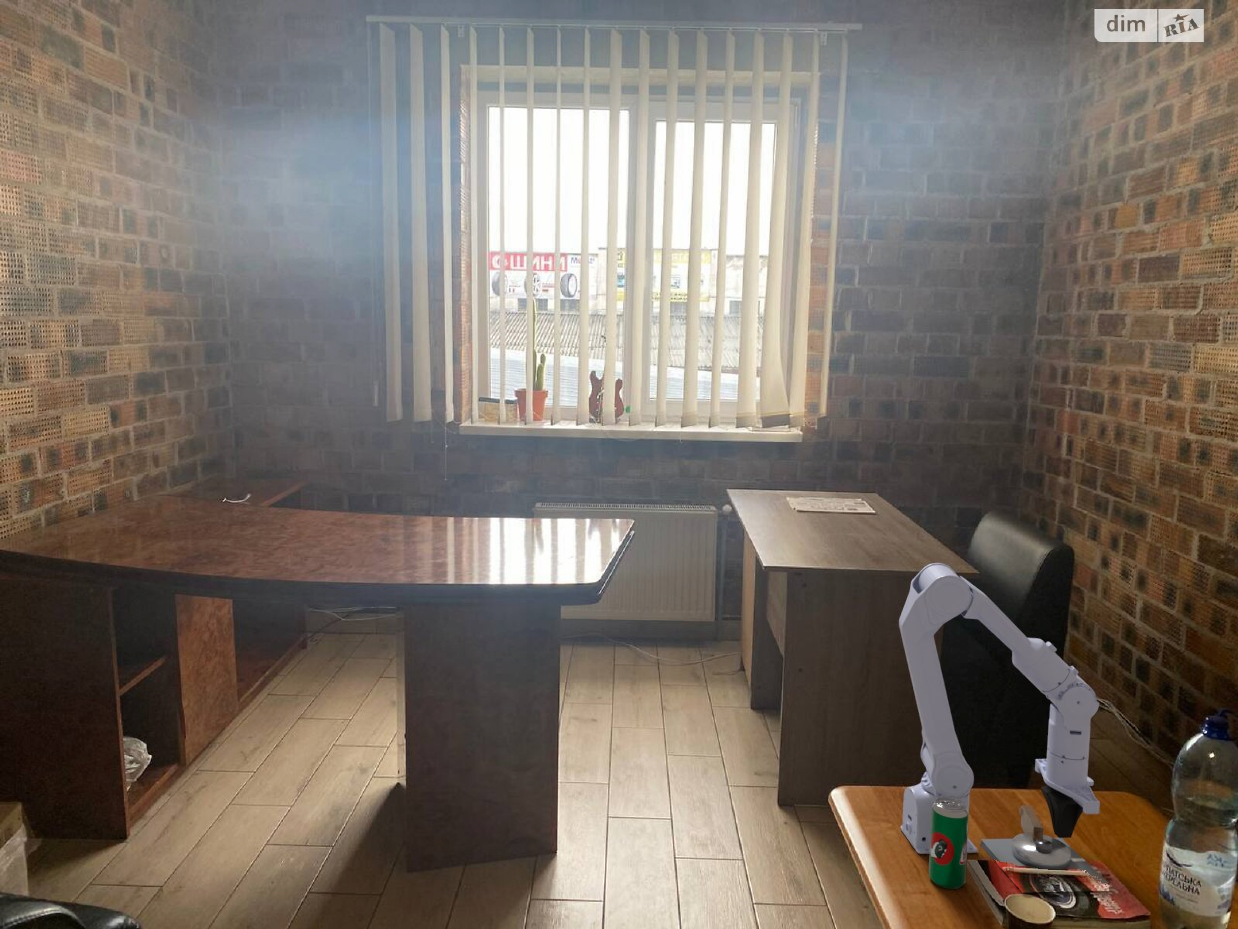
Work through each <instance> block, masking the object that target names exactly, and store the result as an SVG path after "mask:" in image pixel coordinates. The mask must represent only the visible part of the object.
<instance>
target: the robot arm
mask: <svg viewBox="0 0 1238 929" xmlns="http://www.w3.org/2000/svg"><path fill="white" fill-rule="evenodd" d="M959 615H961V616H962V617H963V618H964V619H969V620H971V619H973V620H978V621H979V622H980V623H981V624H983V626H985V627H986V628H987V629H988V630H989V631H990V633H992V634H994V636H996V638H997V639H999V640H1000V642H1002V643H1003V644H1004V645H1005V646H1006V647H1007V648H1008V649H1010V651H1011V653H1012V656H1011V661H1012V664H1013V666H1014V667H1015V668H1016V669H1017V670H1018V671H1019V672H1020V673H1021V674H1022V675H1023V676H1025V678H1027V679H1028V681H1030V682H1031V684H1032V685H1033V686H1035V688H1037V689H1038V690H1039V691H1040V693H1042V694H1043V695H1045V697H1046V699H1047V700H1050V702H1051V703H1050V706H1049V719H1048V730H1047V731H1048V732H1047V733H1048V735H1047V746H1046V747H1047V748H1046V749H1047V750H1046V758H1036V759H1035V761H1034V762H1035V764H1034V766H1035V767H1034V771H1035V772H1037V773H1038V774H1041V775H1042V777H1043V781H1044V783H1045V785H1044V786H1041V787H1040V791H1041V793H1042V796H1043V797H1044V799H1045V802H1046V805H1047V807H1048V810H1049V814H1050V816H1049V817H1050V819H1051V824H1052V830H1053V834H1054V835H1055V836H1057V837H1056V838H1062V839H1066V838H1067V839H1069V838H1070V839H1071V838H1072V836H1073V833H1074V831H1075V828H1076V825H1077V824H1078V822H1079V818H1080V817H1081V815H1082V813H1084V814H1085V815H1098V814H1100V808H1101V807H1100V806H1101V805H1100V804H1101V802H1100V800H1099V799H1098V798H1096V796H1095V794H1094V792H1093V790H1092V788H1091V786H1092V787H1093V786H1094V784H1095V783H1094V780H1093V779H1092V778H1091V777H1089V776H1088V770H1089V754H1090V742H1091V741H1090V739H1091V719H1092V717H1093V716H1095V714H1096V713H1097V711H1098V710H1099V707H1100V702H1099V701H1098V700H1097V697H1096V693H1095V691H1094V690H1093V688H1092V687H1091V686H1090V685H1089V684H1087V683H1086V681H1084V680H1083V679H1082V678H1081V677H1080V676H1079V674H1080V673H1079V671H1078V670H1077V669H1076V668H1075V667H1074V665H1070V666H1069V665H1068V664H1067V663H1066V662H1065V661H1064V660H1063V659H1062V658H1061V657H1060V656H1059V655H1058V654H1057V653H1056V652H1057V650H1058V649H1057V648H1056V647H1055V646H1054V644H1053V643H1051V642H1050V641H1046V642H1045V641H1044V640H1042V639H1041V638H1036V637H1027V636H1026V635H1025V633H1023V632H1022V631H1021V629H1020V628H1018V627H1017V625H1015V623H1013V621H1012V620H1011V619H1010V618H1009V617H1008V616H1007V615H1006V614H1005V613H1004V612H1003V611H1002V609H1000V608H999V606H998V605H996V604H995V603H994V602H993V601H992V600H991V599H990V598H989V597H988V595H987V594H985V593H984V592H983V591H982V590H980V589H979V588H977V586H975V585H973V584H972V583H971V582H970V581H969V580H967V579H966V578H964V577H963V576H962V575H957V573H956V571H955V570H954V569H953V568H952V567H951V566H949V565H948V564H945V563H942V562H934V563H930V564H927V565H926V566H924V567H923V568H922V569H921V570H920V571H919V572H917V574H916V576H914V578H912V580H911V582H910V589H909V592H908V594H907V598H906V601H905V603H904V606H903V609H902V611H901V614H900V616H899V620H898V628H899V631H900V634H901V639H902V644H903V649H904V652H905V658H906V662H907V666H908V670H909V675H910V680H911V684H912V687H913V692H914V696H915V697H914V698H915V702H916V706H917V710H918V713H919V714H918V715H919V719H920V723H921V736H922V745H921V749H920V758H921V759H920V760H921V761H922V764H923V765H924V767H925V769H926V770H925V772H924V773H923V775H922V777H921V780H920V783H918V784H916V785H912V786H907V787H906V788H905V789H904V792H903V804H902V825H900V830H901V831H902V833H903V834H904V836H905V837H906V838H907V840H908V841H909V842H910V844H911V846H912V847H913V848H914V850H915V852H916V853H918V854H919V855H920V854H921V855H925V854H926V855H930V836H931V814H932V806H933V804H934V803H935V799H936V798H938V797H944V796H946V797H953V798H957V799H959V800H961V801H963V802H964V803H965V804H966V809H967V810H968V812H969V810H970V809H969V808H970V791H971V789H972V787H973V786H974V782H975V781H974V780H975V778H974V776H975V775H974V772H973V770H972V768H971V767H970V765H969V764H968V763H967V761H966V759H965V757H964V755H963V752H962V749H961V745H960V743H959V739H958V736H957V734H956V731H955V726H954V721H953V717H952V713H951V708H950V704H949V700H948V694H947V690H946V685H945V680H944V677H943V673H942V668H941V663H940V660H939V654H938V651H937V645H936V642H935V634H936V633H937V632H938V631H939V629H940V628H941V627H942V626H943V625H944V624H946V623H947V622H948V621H950V620H952V619H953V618H956V617H957V616H959ZM969 813H970V812H969ZM973 853H975V854H976V853H978V848H977V846H975V845H974V843H973V842H972V841H971V840H970V839H969V838H968V840H967V854H973Z"/></svg>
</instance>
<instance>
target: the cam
mask: <svg viewBox="0 0 1238 929" xmlns="http://www.w3.org/2000/svg"><path fill="white" fill-rule="evenodd" d="M1018 812H1019V815H1020V818H1021V819H1020V827H1021V829H1022V831H1023V833H1018V834H1017V835H1015V836H1014V837H1013V838H1012V839H1013V844H1012V852H1013V854H1014V856H1015V857H1016V858H1017V859H1019V860H1020V861H1021V862H1023V863H1025V864H1027V865H1029V866H1032V867H1035V868H1038V869H1048V870H1060V869H1066V868H1067V867H1069V865H1070V859H1071V851H1070V849H1069V848H1068V847H1067V846H1066V845H1065V844H1064V843H1062V842H1061V841H1059V840H1057V839H1055V838H1056V837H1053V836H1049V835H1046V834H1044V826H1043V825H1042V823H1041V821H1040V819H1039V817H1038V815H1037V814H1036V812H1035V810H1034V808H1033V807H1032V806H1031V805H1024V804H1023V805H1021V806H1020V807H1019V810H1018Z"/></svg>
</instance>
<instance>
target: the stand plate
mask: <svg viewBox="0 0 1238 929" xmlns="http://www.w3.org/2000/svg"><path fill="white" fill-rule="evenodd" d="M1054 838H1055V839H1057V840H1059V841H1061V842H1062V843H1064V844H1065V845H1066V846H1067V847H1068V848H1069V849H1070V851H1071V859H1070V865H1069V867H1067V868H1066V869H1076V870H1077V869H1080V870H1081V871H1082V870H1083V871H1084V870H1086V871H1085V873H1087V872H1088V873H1089V874H1090V875H1091V876H1096V878H1094V877H1093V879H1102V881H1101V883H1107V884H1108V883H1109V882H1108V881H1107V880H1106V879H1105V878H1104V877H1102V875H1100V873H1098V872H1097V870H1096V869H1094V868H1093V866H1091V864H1089V862H1087V861H1086V860H1085V859H1084V858H1083V857H1082V856H1081V855H1080V854H1079V853H1077V851H1076V850H1075V849H1073V848H1072V847H1071V846H1070V845H1069V843H1067V842H1066V840H1064V838H1058V837H1054ZM1012 844H1013V838H986V839H985V838H984V839H983V838H981V839H980V847H981V848H982V849H983V850H984V851H985V852H986V854H988V856H989V857H990V858H991V859H992V860H993V859H995V860H997V861H999V862H1005V863H1006V862H1007V863H1013V864H1014V865H1017V866H1029V865H1027V864H1025V863H1023V862H1021V861H1020V860H1019V859H1017V858H1016V857H1015V856H1014V854H1013V852H1012ZM1090 875H1089V876H1090ZM1097 876H1098V878H1097ZM1091 878H1092V877H1091ZM1103 879H1104V880H1103ZM1099 882H1100V881H1099ZM1105 885H1106V884H1105ZM1108 885H1110V886H1111V884H1110V883H1109V884H1108Z"/></svg>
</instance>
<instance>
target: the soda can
mask: <svg viewBox="0 0 1238 929" xmlns="http://www.w3.org/2000/svg"><path fill="white" fill-rule="evenodd" d="M969 815H970V812H968V810H967V809H966V804H965V803H964V802H963V801H961V800H959V799H957V798H953V797H946V796H944V797H938V798H936V799H935V803H934V804H933V806H932V814H931V836H930V854H929V858H928V859H929V862H928V876H929V878H930V879H931V881H932V882H933V883H934V884H935V885H937V886H939V887H941V888H942V889H946V890H947V889H948V890H955V889H956V890H957V889H960V888H961V887H962V886H964V884H965V883H966V878H967V877H966V876H967V875H966V874H967V857H968V856H967V855H968V853H967V840H968V839H969V818H970V816H969Z"/></svg>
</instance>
